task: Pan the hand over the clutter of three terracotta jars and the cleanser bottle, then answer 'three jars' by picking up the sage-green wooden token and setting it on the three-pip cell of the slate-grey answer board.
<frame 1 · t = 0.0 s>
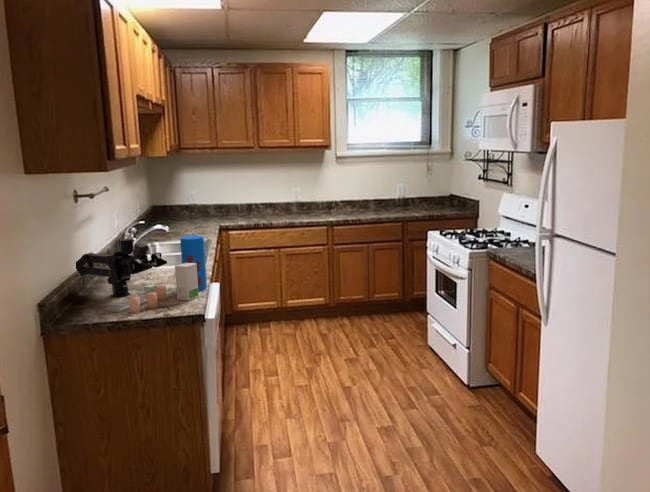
hand: (159, 264, 237), 17 cm above the counter, tool horizontal, fingers open, 9 cm apart
thermos: (195, 289, 260), on the counter
jar b: (152, 307, 231), on the counter
skincare box: (188, 298, 244), on the counter
jar a: (161, 300, 242), on the counter
answer board: (129, 305, 234), on the counter
token: (151, 296, 248), on the counter
jar c: (135, 311, 225), on the counter
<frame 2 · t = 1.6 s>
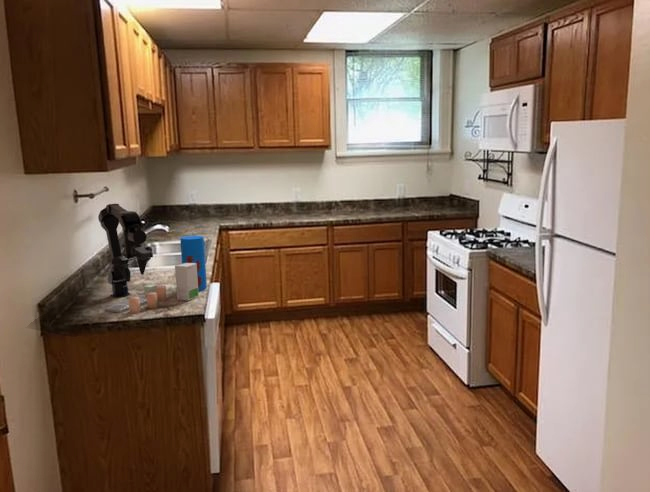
hand: (134, 277, 234), 12 cm above the counter, tool pointing down, fingers open, 9 cm apart
nothing on the counter moved.
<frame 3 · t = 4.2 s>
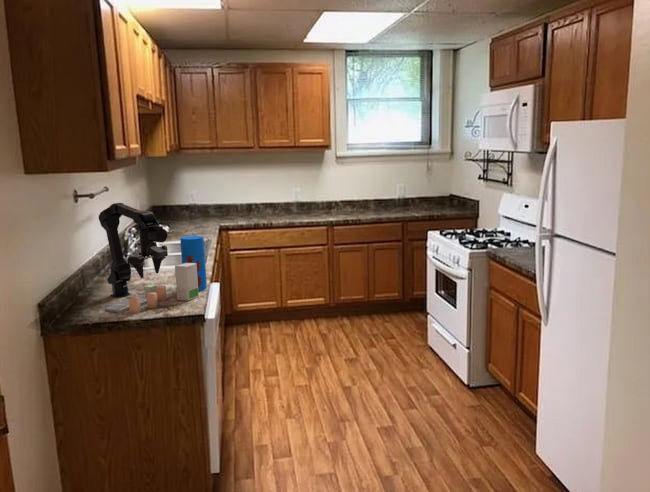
hand: (149, 275, 237), 12 cm above the counter, tool pointing down, fingers open, 9 cm apart
nothing on the counter moved.
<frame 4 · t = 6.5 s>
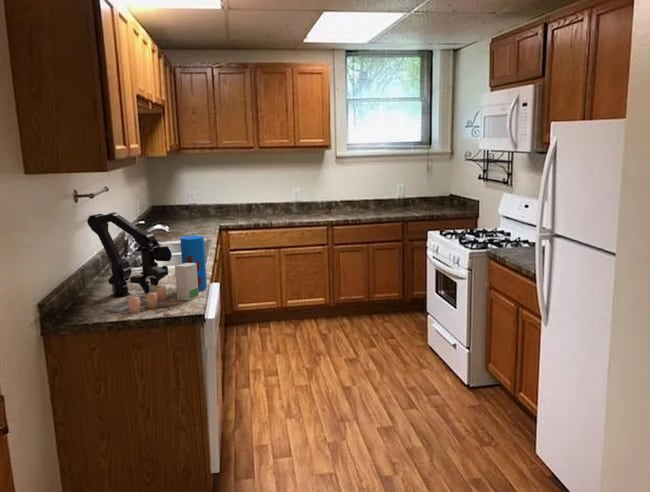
hand: (151, 294, 248), 1 cm above the counter, tool pointing down, fingers closed on token, 4 cm apart
token: (151, 296, 248), on the counter, touching gripper
everything else where it was.
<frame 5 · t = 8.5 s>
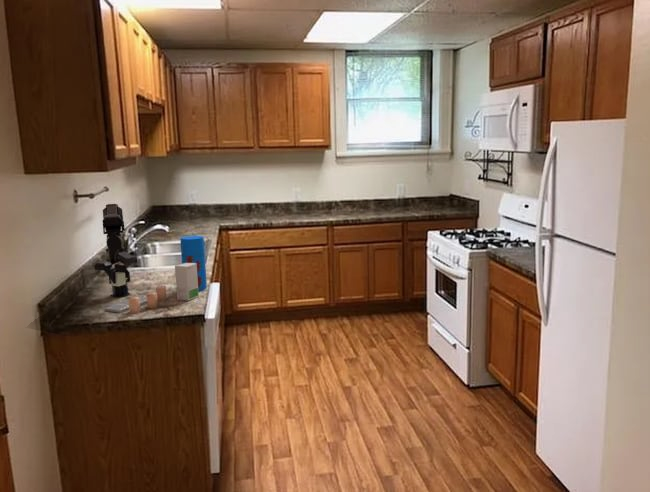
hand: (118, 282, 229), 11 cm above the counter, tool pointing down, fingers closed on token, 4 cm apart
token: (118, 284, 229), point 10 cm above the counter, touching gripper
everything else where it was.
when the fingers open (3 cm above the counter, at t = 10.5 s): token stays where it is, resting on answer board.
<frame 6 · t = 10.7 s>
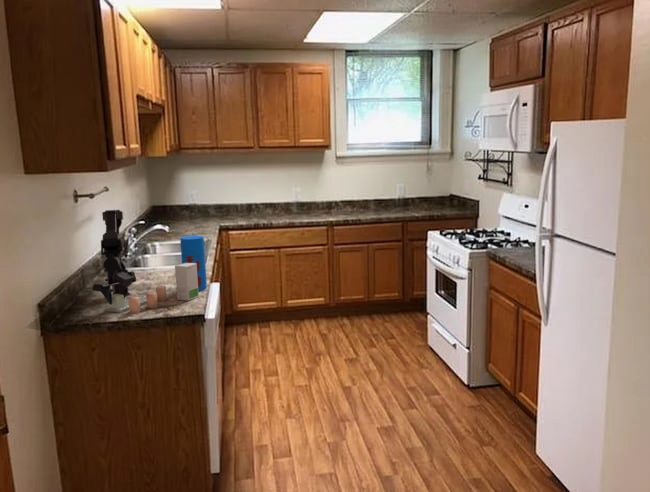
hand: (116, 302, 229), 3 cm above the counter, tool pointing down, fingers open, 6 cm apart
token: (117, 306, 229), point 1 cm above the counter, touching answer board
everything else where it was.
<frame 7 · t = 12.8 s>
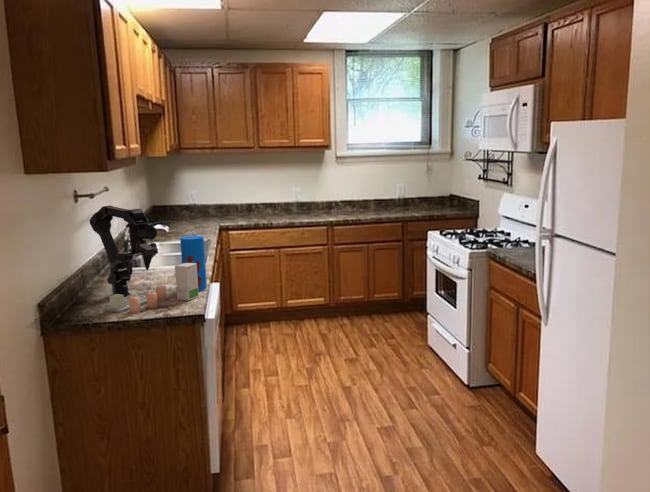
hand: (139, 272, 241), 13 cm above the counter, tool pointing down, fingers open, 9 cm apart
nothing on the counter moved.
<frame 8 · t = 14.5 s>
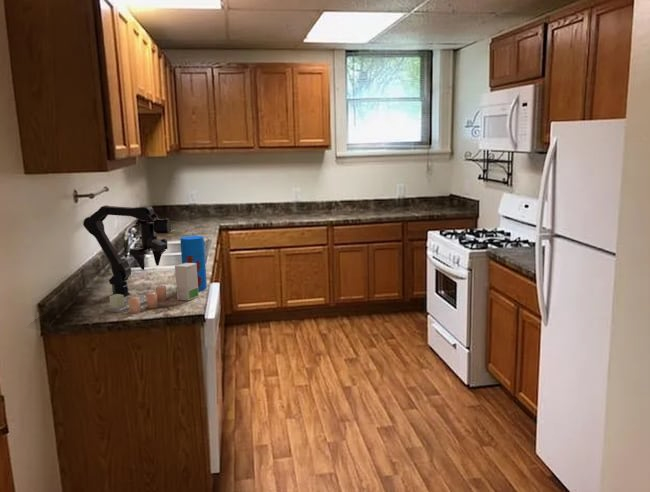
hand: (150, 267, 248), 13 cm above the counter, tool pointing down, fingers open, 9 cm apart
nothing on the counter moved.
at the end: token 0.9 cm from the target spot on the answer board, point 1.0 cm above the answer board's base; token tilted 0°; the gripper is holding nothing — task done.
